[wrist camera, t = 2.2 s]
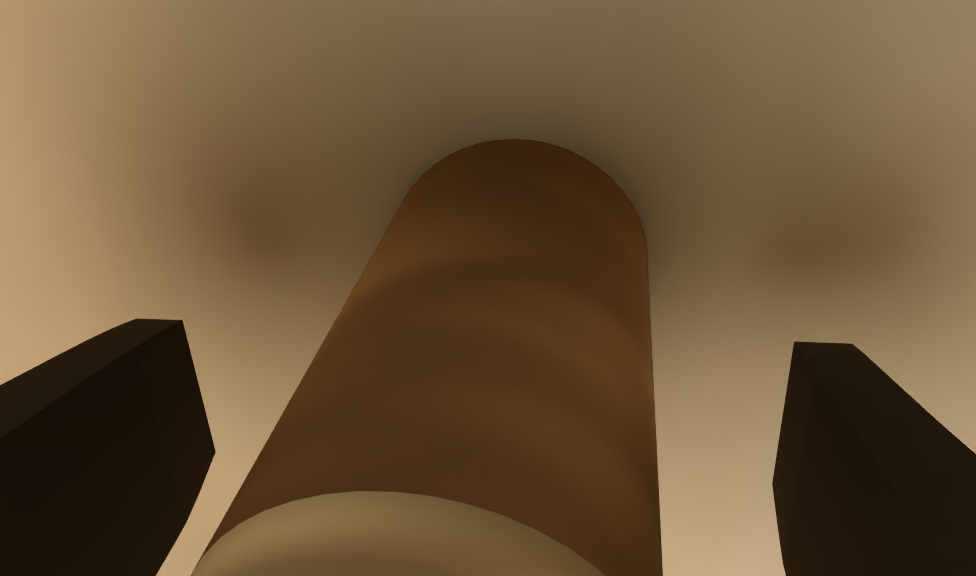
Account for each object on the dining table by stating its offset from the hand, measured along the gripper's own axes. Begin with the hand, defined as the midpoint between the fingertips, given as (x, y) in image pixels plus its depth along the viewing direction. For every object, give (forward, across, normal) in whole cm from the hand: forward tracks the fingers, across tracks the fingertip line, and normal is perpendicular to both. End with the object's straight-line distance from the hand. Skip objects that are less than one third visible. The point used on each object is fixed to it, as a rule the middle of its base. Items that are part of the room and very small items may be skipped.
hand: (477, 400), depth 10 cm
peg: (+4, 0, 0) cm, 4 cm away
